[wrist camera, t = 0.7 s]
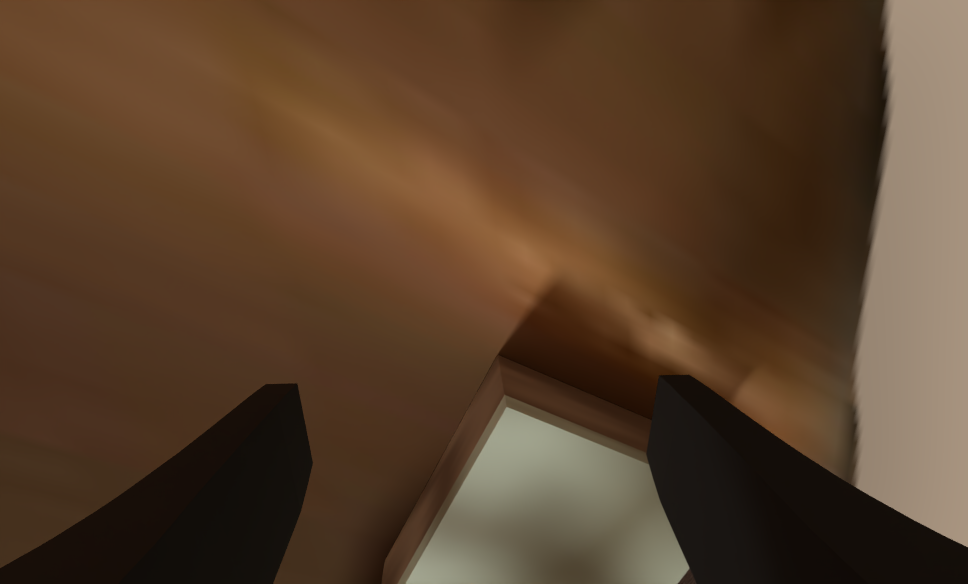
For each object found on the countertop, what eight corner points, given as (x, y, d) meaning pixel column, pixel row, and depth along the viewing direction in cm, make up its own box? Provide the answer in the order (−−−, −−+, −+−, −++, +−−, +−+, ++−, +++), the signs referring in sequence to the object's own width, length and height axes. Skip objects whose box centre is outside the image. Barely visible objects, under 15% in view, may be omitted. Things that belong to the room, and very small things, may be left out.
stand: (565, 619, 27) (584, 703, 23) (384, 560, 25) (372, 641, 21) (695, 438, 23) (741, 501, 20) (497, 354, 21) (506, 406, 18)
